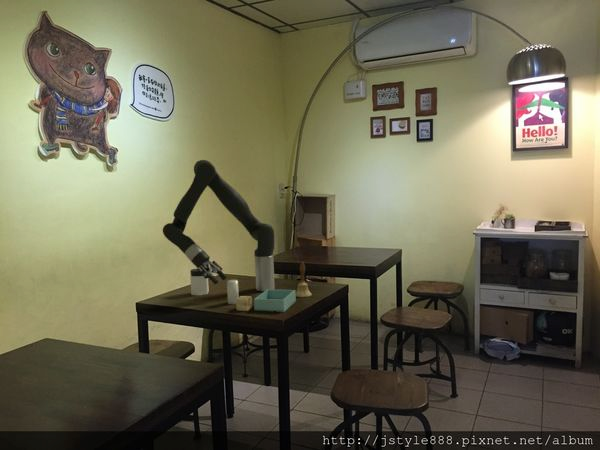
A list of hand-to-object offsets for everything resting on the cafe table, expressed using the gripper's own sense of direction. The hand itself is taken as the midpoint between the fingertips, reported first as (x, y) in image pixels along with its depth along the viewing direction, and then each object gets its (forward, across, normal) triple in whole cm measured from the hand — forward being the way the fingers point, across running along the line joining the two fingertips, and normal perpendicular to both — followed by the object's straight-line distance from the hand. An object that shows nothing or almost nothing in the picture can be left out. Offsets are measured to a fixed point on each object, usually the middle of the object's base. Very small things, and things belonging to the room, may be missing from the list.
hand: (221, 280), depth 215 cm
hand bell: (+31, +17, -16) cm, 39 cm away
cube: (+17, -9, -3) cm, 20 cm away
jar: (-6, +14, +20) cm, 25 cm away
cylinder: (+11, 0, +3) cm, 11 cm away
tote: (+26, -2, -12) cm, 28 cm away
